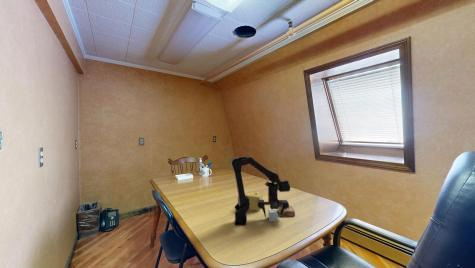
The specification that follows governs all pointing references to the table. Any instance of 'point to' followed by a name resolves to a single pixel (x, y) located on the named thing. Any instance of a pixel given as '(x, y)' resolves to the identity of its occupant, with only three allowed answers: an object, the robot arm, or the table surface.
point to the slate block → (273, 215)
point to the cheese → (254, 200)
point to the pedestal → (288, 211)
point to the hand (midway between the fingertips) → (272, 217)
